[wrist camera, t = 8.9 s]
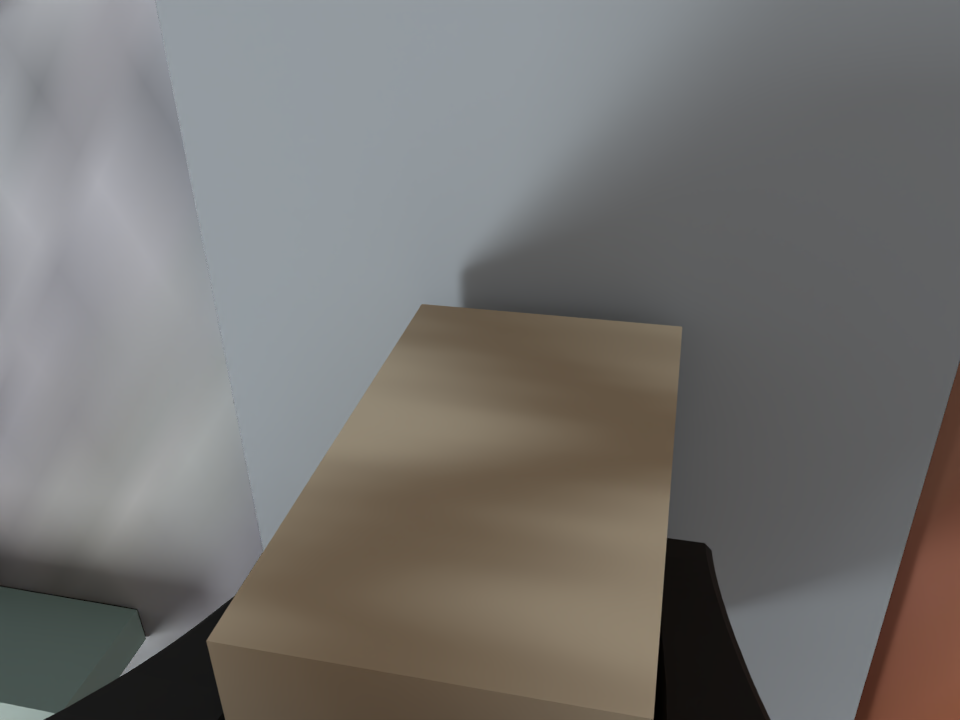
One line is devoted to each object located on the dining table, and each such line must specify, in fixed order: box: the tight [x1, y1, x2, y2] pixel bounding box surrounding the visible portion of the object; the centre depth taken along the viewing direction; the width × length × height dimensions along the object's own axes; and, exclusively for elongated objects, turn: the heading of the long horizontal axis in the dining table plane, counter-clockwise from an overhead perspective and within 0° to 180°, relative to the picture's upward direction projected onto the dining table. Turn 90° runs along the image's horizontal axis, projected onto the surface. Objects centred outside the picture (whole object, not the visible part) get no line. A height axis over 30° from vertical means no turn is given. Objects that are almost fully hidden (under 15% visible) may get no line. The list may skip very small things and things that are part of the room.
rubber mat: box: [155, 0, 960, 720], centre depth 16 cm, size 16×12×1 cm
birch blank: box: [206, 304, 682, 720], centre depth 12 cm, size 4×7×7 cm, turn 1°
